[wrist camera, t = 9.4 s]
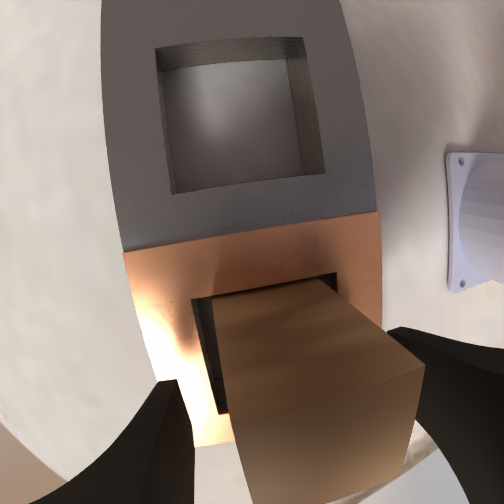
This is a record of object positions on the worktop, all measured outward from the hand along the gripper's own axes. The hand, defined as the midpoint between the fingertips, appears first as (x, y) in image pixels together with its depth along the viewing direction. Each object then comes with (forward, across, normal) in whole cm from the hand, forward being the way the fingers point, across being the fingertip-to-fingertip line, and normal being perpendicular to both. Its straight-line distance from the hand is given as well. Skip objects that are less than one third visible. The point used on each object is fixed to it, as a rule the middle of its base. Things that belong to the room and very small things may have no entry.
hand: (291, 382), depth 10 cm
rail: (+5, 0, -9) cm, 10 cm away
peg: (+5, 0, 0) cm, 5 cm away
